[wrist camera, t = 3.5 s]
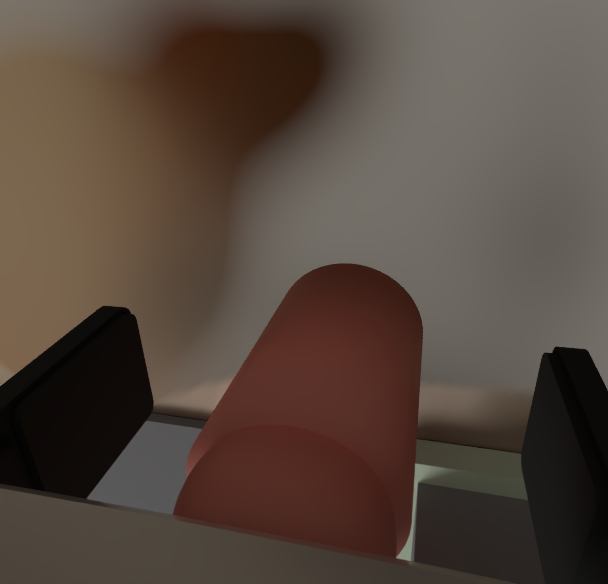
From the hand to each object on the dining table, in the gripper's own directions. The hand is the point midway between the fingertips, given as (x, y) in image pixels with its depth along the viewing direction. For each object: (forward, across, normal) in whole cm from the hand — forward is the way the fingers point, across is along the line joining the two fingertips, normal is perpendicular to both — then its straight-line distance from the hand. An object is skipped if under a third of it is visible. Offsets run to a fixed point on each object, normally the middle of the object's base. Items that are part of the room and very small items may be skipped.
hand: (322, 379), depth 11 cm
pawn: (+3, 0, 0) cm, 3 cm away
